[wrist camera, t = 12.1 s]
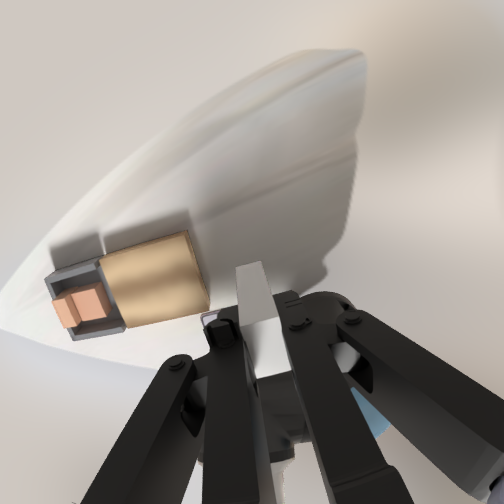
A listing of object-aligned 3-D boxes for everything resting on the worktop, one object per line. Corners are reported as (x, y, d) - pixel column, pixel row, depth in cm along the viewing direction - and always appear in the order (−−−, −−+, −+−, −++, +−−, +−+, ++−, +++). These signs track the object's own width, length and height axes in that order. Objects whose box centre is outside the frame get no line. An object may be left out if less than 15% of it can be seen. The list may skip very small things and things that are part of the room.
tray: (130, 320, 46) (123, 332, 42) (81, 329, 46) (73, 341, 42) (103, 255, 42) (93, 263, 39) (55, 270, 42) (43, 279, 39)
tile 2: (112, 308, 44) (106, 316, 41) (89, 313, 44) (82, 321, 41) (101, 281, 43) (94, 288, 40) (78, 287, 43) (70, 294, 40)
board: (210, 302, 46) (209, 310, 43) (132, 319, 46) (127, 328, 43) (187, 230, 42) (184, 235, 40) (106, 254, 42) (98, 260, 40)
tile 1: (76, 326, 39) (63, 328, 39) (88, 312, 44) (75, 314, 44) (64, 298, 38) (51, 301, 38) (77, 286, 43) (65, 289, 43)
